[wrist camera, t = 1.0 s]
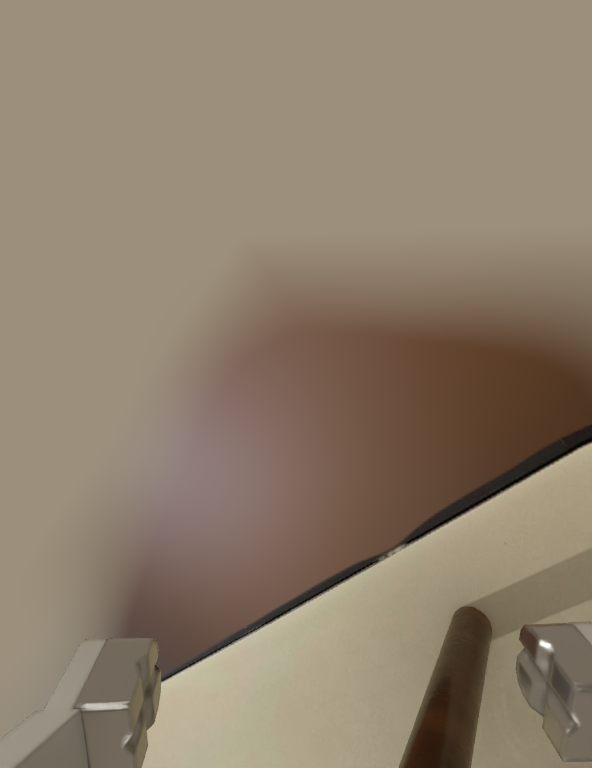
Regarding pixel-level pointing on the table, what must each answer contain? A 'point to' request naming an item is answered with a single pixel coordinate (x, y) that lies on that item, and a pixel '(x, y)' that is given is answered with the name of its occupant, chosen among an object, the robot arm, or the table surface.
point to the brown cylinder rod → (452, 697)
